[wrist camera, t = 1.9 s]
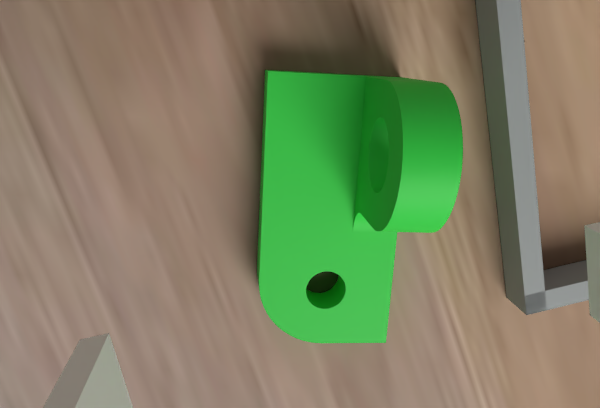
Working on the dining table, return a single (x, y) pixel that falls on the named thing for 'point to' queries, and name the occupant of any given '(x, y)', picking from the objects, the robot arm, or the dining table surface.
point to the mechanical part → (348, 193)
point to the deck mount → (518, 166)
